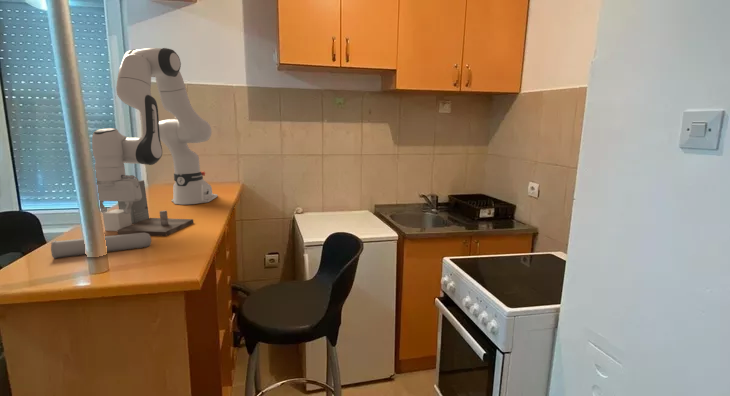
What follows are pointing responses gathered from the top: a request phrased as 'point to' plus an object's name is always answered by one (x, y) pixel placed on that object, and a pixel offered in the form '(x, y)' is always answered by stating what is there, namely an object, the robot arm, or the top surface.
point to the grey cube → (116, 220)
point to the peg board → (157, 226)
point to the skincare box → (138, 206)
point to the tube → (112, 243)
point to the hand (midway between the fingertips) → (115, 212)
